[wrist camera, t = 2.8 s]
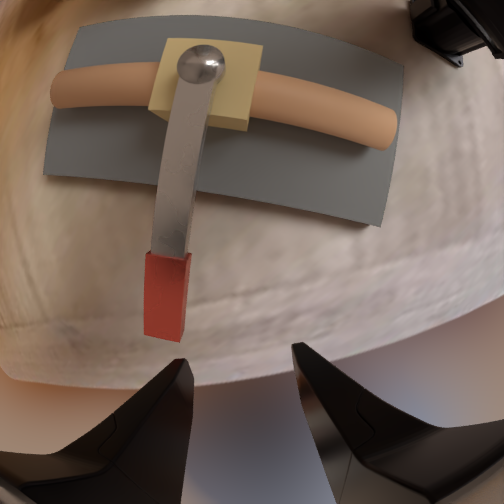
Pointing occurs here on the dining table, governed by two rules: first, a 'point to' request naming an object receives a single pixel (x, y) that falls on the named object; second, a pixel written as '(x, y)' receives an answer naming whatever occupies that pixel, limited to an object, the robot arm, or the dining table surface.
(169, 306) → the valve lever
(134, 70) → the valve body
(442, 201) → the dining table surface
